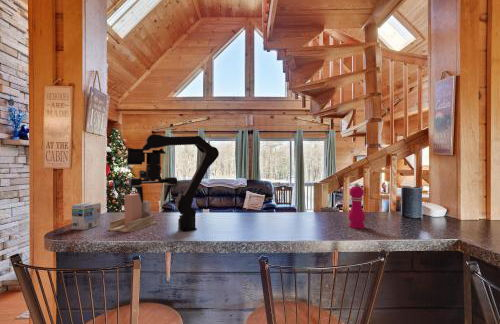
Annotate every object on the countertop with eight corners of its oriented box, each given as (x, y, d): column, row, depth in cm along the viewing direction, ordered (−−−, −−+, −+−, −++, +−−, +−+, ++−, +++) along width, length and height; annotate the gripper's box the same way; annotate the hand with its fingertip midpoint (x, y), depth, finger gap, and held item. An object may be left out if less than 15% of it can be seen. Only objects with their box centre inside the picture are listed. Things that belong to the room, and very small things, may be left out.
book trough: (156, 223, 137) (156, 201, 137) (131, 232, 120) (131, 206, 120) (134, 221, 140) (134, 200, 140) (107, 230, 123) (107, 205, 123)
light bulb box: (84, 230, 123) (84, 205, 123) (70, 229, 125) (70, 205, 125) (101, 224, 134) (101, 202, 134) (89, 224, 135) (89, 201, 135)
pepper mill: (347, 228, 126) (347, 183, 126) (348, 224, 133) (348, 182, 133) (365, 229, 123) (365, 183, 123) (365, 226, 130) (365, 182, 130)
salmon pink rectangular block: (141, 223, 133) (141, 193, 133) (132, 226, 126) (132, 195, 126) (134, 223, 134) (134, 193, 134) (124, 226, 127) (124, 195, 127)
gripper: (169, 164, 130) (169, 198, 130) (126, 164, 120) (126, 201, 120) (177, 164, 121) (177, 201, 121) (131, 164, 111) (131, 204, 111)
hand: (153, 201), depth 118 cm, fingers open, 9 cm apart
